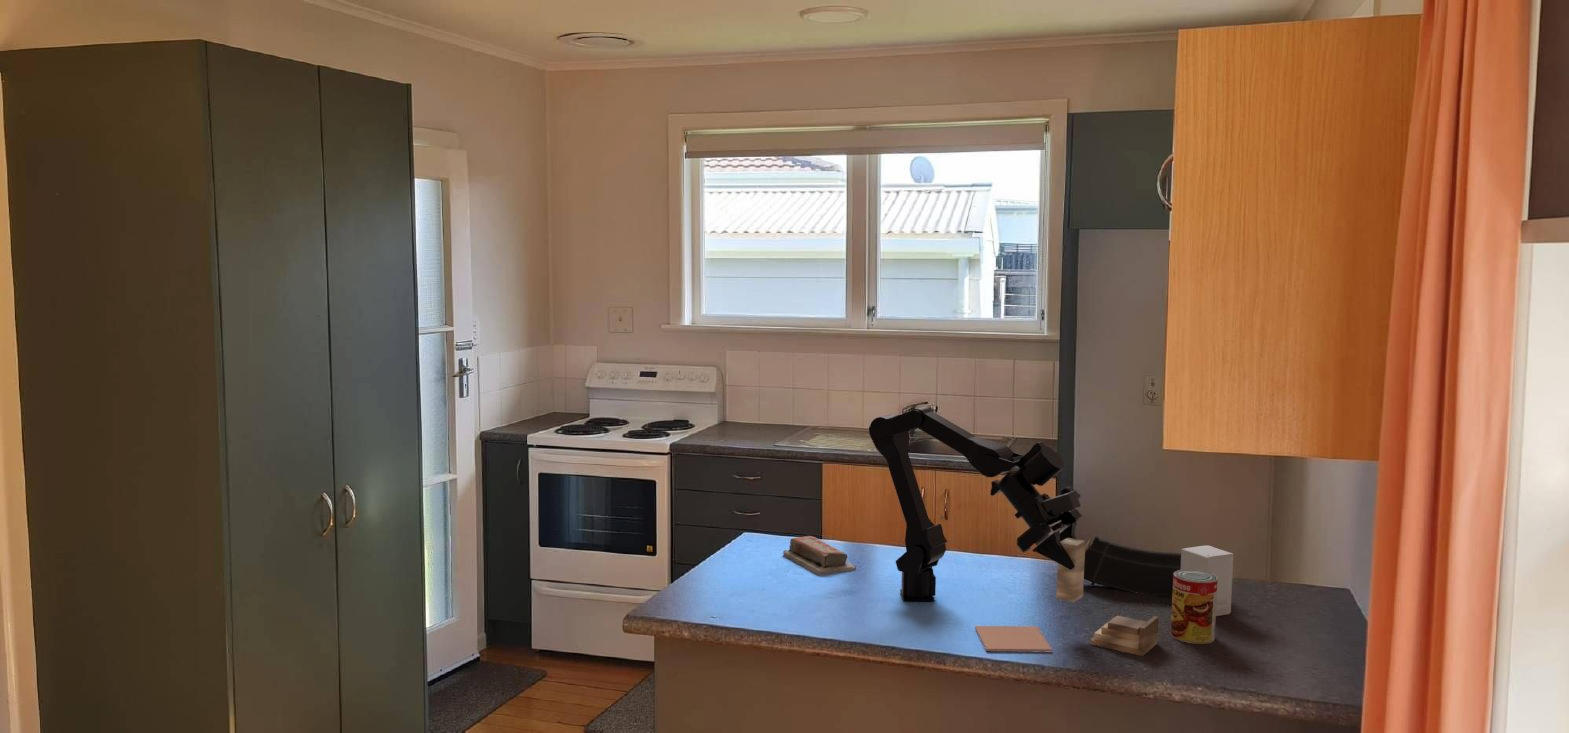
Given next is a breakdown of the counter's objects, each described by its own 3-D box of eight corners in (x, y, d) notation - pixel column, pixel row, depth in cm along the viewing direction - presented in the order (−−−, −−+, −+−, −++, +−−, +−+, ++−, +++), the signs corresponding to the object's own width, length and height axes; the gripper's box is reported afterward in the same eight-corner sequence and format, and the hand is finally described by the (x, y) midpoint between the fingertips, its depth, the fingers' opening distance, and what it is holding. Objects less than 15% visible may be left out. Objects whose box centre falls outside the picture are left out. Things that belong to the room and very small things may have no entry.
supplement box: (1231, 614, 223) (1235, 553, 222) (1203, 618, 220) (1206, 557, 219) (1205, 603, 230) (1208, 544, 228) (1177, 607, 227) (1180, 547, 226)
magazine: (1238, 558, 231) (1098, 505, 240) (1239, 563, 228) (1097, 508, 237) (1209, 631, 235) (1072, 575, 244) (1209, 636, 232) (1070, 579, 241)
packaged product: (781, 537, 262) (818, 532, 266) (781, 557, 262) (818, 552, 267) (819, 556, 246) (857, 551, 250) (818, 577, 246) (856, 571, 251)
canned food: (1166, 628, 214) (1169, 568, 213) (1207, 630, 214) (1211, 570, 212) (1176, 643, 207) (1179, 580, 205) (1219, 644, 206) (1223, 582, 204)
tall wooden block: (1056, 598, 210) (1058, 542, 209) (1065, 592, 214) (1068, 537, 213) (1073, 602, 208) (1076, 545, 207) (1082, 596, 212) (1085, 540, 211)
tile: (986, 651, 201) (986, 648, 201) (975, 628, 213) (975, 625, 213) (1051, 652, 201) (1052, 649, 201) (1036, 629, 213) (1037, 626, 213)
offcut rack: (1089, 644, 206) (1090, 617, 205) (1105, 632, 212) (1106, 605, 211) (1142, 656, 200) (1144, 628, 199) (1157, 643, 206) (1158, 616, 205)
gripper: (1034, 483, 203) (1089, 552, 198) (1074, 467, 218) (1126, 531, 213) (994, 518, 209) (1046, 586, 204) (1035, 500, 224) (1085, 563, 219)
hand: (1077, 565), depth 210 cm, fingers closed on tall wooden block, 4 cm apart
